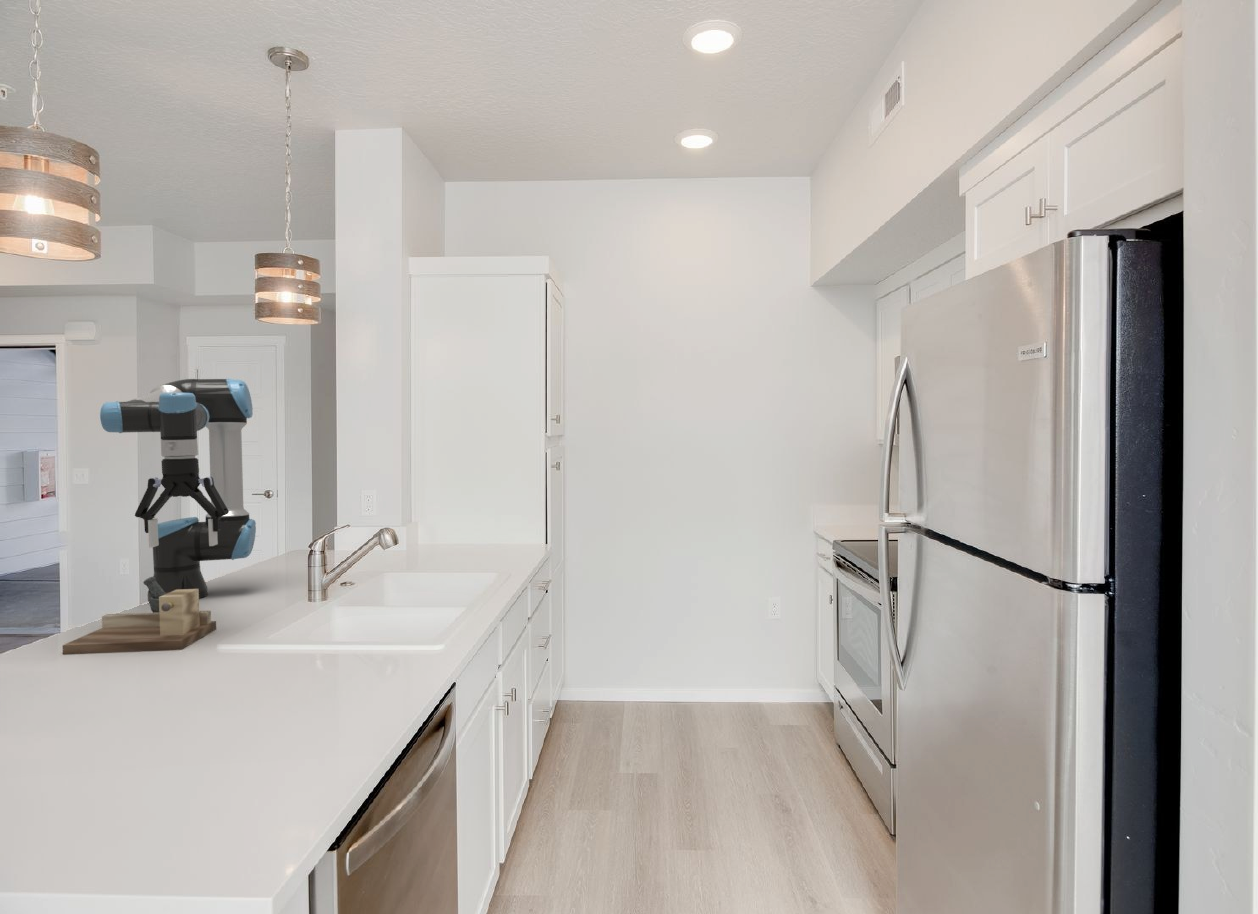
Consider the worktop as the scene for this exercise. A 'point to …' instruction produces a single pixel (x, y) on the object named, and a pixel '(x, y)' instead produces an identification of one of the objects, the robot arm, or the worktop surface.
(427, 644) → the worktop surface
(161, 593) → the mortar and pestle
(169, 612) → the marking gauge
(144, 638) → the walnut board
